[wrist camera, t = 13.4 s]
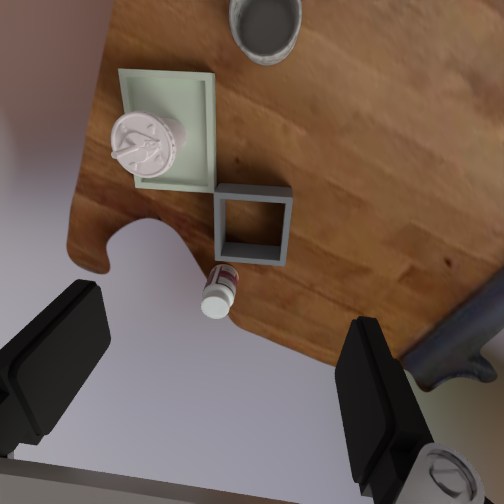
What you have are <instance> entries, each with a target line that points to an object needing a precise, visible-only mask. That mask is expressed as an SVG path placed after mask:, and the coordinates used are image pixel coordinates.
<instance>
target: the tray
mask: <svg viewBox="0 0 504 504" xmlns="http://www.w3.org/2000/svg"><path fill="white" fill-rule="evenodd" d="M118 73H119V80H120V86H121V93H122V100H123V106H124V113H125V114H126V113H130V112H133V111H146V112H149V113H152V114H154V115H156V116H157V117H163V118H169V119H175V120H177V121H179V122H180V123H181V124H182V125H183V126H184V128H185V130H186V133H187V140H186V143H185V145H184V146H183V147H182V148H181V150H180V151H179V152H178V153H177V155H176V156H175V159H174V161H173V164H172V166H171V167H170V168H169V169H168V170H167V171H166V172H164V173H163V174H161V175H158V176H156V177H152V178H144V177H139V176H136V175H134V180H135V187H136V188H147V189H161V190H176V191H190V192H204V193H214V191H215V189H216V188H217V171H216V100H215V74H214V73H203V72H182V71H160V70H139V69H118Z"/></svg>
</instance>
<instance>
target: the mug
mask: <svg viewBox="0 0 504 504" xmlns="http://www.w3.org/2000/svg"><path fill="white" fill-rule="evenodd" d="M301 19H302V4H301V0H231V1H230V5H229V24H230V29H231V32H232V35H233V38H234V40H235V41H236V43H237V45H238V46H239V47H240V49H241V50H242V51H243V52H244V53H245V54H246V55H247V57H248V58H249V59H251V60H252V61H253V62H255V63H257V64H260V65H265V66H268V65H274V64H276V63H279V62H281V61H282V60H283V59H285V58H286V57H287V56H288V55H289V53H290V52H291V50H292V49H293V47H294V45H295V42H296V39H297V36H298V32H299V29H300V25H301Z"/></svg>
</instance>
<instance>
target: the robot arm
mask: <svg viewBox="0 0 504 504" xmlns="http://www.w3.org/2000/svg"><path fill="white" fill-rule="evenodd" d="M110 341H111V336H110V330H109V326H108V321H107V316H106V311H105V307H104V302H103V297H102V292H101V288H100V287H99V286H97V284H96V282H94V281H88V280H82V279H78V280H76V281H74V282H73V283H72V284H71V285H70V286H69V287H68V288H67V289H65V290H64V291H63V292H62V293H61V294H60V295H59V296H58V297H57V298H56V299H55V300H54V301H52V302H51V303H50V304H49V305H48V306H47V307H46V308H45V309H44V310H43V311H42V312H41V313H39V315H37V316H36V317H35V318H34V319H33V320H32V321H31V322H30V323H29V324H28V325H26V326H25V327H24V329H22V330H21V331H20V332H19V333H18V334H17V335H16V336H15V337H14V338H13V339H11V340H10V341H9V342H8V343H7V344H6V345H5V346H4V347H3V348H2V349H0V504H298V503H293V502H287V501H281V500H274V499H268V498H262V497H256V496H250V495H244V494H237V493H231V492H225V491H219V490H213V489H206V488H200V487H194V486H187V485H181V484H174V483H168V482H162V481H155V480H149V479H143V478H136V477H129V476H124V475H117V474H110V473H104V472H96V471H91V470H84V469H78V468H71V467H64V466H58V465H51V464H45V463H38V462H31V461H23V460H16V459H14V450H15V448H16V447H17V446H18V444H19V443H24V444H30V445H38V444H39V442H40V441H41V439H42V438H43V436H44V435H48V434H49V433H50V432H51V431H52V429H53V428H54V427H55V425H56V424H57V422H58V421H59V419H60V418H61V416H62V415H63V413H64V412H65V410H66V409H67V407H68V406H69V404H70V403H71V402H72V400H73V399H74V397H75V396H76V394H77V393H78V391H79V390H80V388H81V387H82V385H83V384H84V382H85V381H86V379H87V378H88V376H89V375H90V374H91V372H92V371H93V369H94V368H95V366H96V365H97V363H98V362H99V360H100V359H101V357H102V356H103V354H104V353H105V351H106V350H107V348H108V347H109V345H110ZM335 382H336V387H337V393H338V399H339V404H340V410H341V416H342V421H343V427H344V432H345V438H346V444H347V449H348V455H349V461H350V467H351V472H352V477H353V480H354V482H355V483H359V487H360V492H361V496H367V497H373V500H374V504H493V503H492V502H491V501H490V500H489V499H488V498H486V497H485V491H484V487H483V484H482V481H481V479H480V477H479V475H478V474H477V472H476V470H475V469H474V468H473V467H472V465H471V464H470V463H469V462H468V460H466V459H465V458H464V457H463V456H462V455H461V454H459V453H458V452H457V451H455V450H453V449H451V448H450V447H448V446H445V445H443V444H440V443H434V440H433V438H432V435H431V433H430V431H429V429H428V426H427V424H426V421H425V419H424V417H423V414H422V412H421V410H420V407H419V405H418V403H417V401H416V398H415V396H414V393H413V391H412V389H411V386H410V384H409V381H408V379H407V377H406V374H405V372H404V370H403V367H402V365H401V363H400V362H399V361H398V360H397V359H394V358H393V357H392V355H391V352H390V350H389V347H388V345H387V343H386V340H385V338H384V335H383V333H382V330H381V328H380V325H379V323H378V321H377V319H376V318H371V317H364V316H359V317H358V318H357V320H355V319H353V320H352V322H351V325H350V328H349V331H348V334H347V336H346V339H345V342H344V345H343V348H342V351H341V354H340V357H339V360H338V362H337V365H336V369H335Z"/></svg>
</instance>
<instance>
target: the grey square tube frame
mask: <svg viewBox="0 0 504 504" xmlns="http://www.w3.org/2000/svg"><path fill="white" fill-rule="evenodd" d="M226 199H232V200H246V201H260V202H274V203H284V212H283V222H282V232H281V241H280V246H272V245H259V244H247V243H234V242H226ZM292 202H293V193H292V188H291V187H276V186H262V185H247V184H232V183H220V184H219V185H218V187H217V188H216V189H215V191H214V234H215V260H216V261H228V262H241V263H253V264H265V265H277V266H285V263H286V254H287V245H288V237H289V228H290V219H291V211H292Z"/></svg>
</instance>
